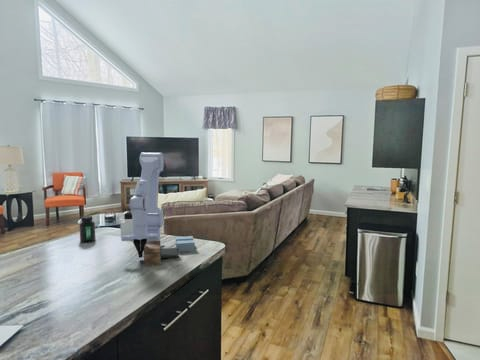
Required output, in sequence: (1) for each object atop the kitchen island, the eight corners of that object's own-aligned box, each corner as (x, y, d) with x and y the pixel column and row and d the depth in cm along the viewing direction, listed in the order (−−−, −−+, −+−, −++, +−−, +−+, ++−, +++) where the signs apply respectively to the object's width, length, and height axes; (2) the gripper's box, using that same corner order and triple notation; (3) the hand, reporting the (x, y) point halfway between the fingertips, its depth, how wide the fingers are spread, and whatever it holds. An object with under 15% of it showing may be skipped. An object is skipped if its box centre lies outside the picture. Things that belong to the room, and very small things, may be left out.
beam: (145, 265, 126) (144, 252, 126) (146, 253, 140) (146, 241, 139) (160, 264, 128) (160, 251, 127) (160, 252, 141) (160, 240, 141)
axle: (144, 260, 131) (143, 251, 131) (144, 258, 135) (144, 248, 135) (178, 258, 134) (178, 248, 134) (178, 255, 138) (177, 246, 138)
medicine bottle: (139, 232, 172) (138, 210, 171) (133, 236, 165) (133, 213, 164) (126, 231, 173) (126, 210, 171) (120, 235, 166) (119, 213, 164)
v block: (176, 252, 142) (176, 243, 142) (175, 245, 152) (175, 237, 151) (194, 251, 144) (194, 242, 143) (192, 244, 154) (192, 236, 153)
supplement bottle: (91, 242, 154) (90, 218, 152) (77, 242, 153) (76, 218, 152) (97, 238, 160) (96, 215, 159) (84, 238, 160) (83, 215, 159)
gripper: (119, 228, 125) (121, 261, 127) (157, 226, 129) (158, 258, 130) (122, 223, 132) (123, 255, 134) (158, 222, 135) (158, 252, 137)
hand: (140, 256), depth 132 cm, fingers closed
